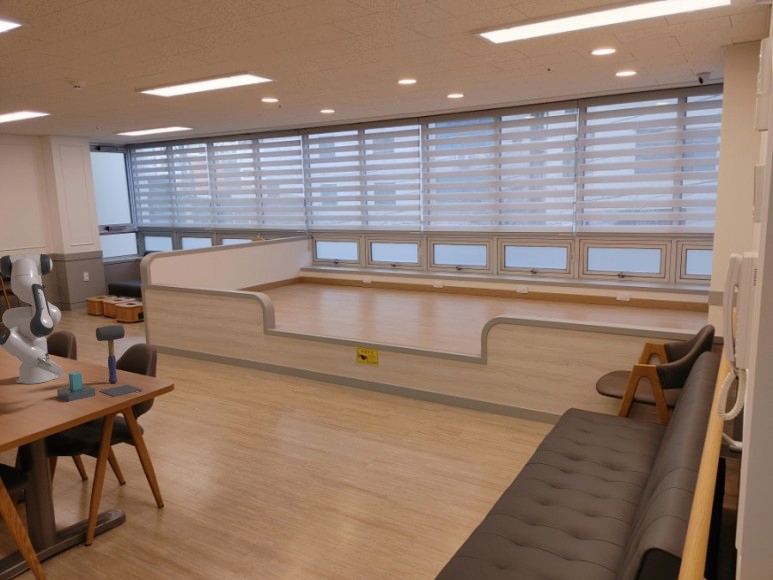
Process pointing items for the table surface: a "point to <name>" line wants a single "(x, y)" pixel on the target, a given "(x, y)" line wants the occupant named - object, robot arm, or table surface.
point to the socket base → (76, 393)
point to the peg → (75, 381)
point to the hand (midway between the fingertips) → (59, 374)
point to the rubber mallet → (110, 345)
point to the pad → (120, 390)
